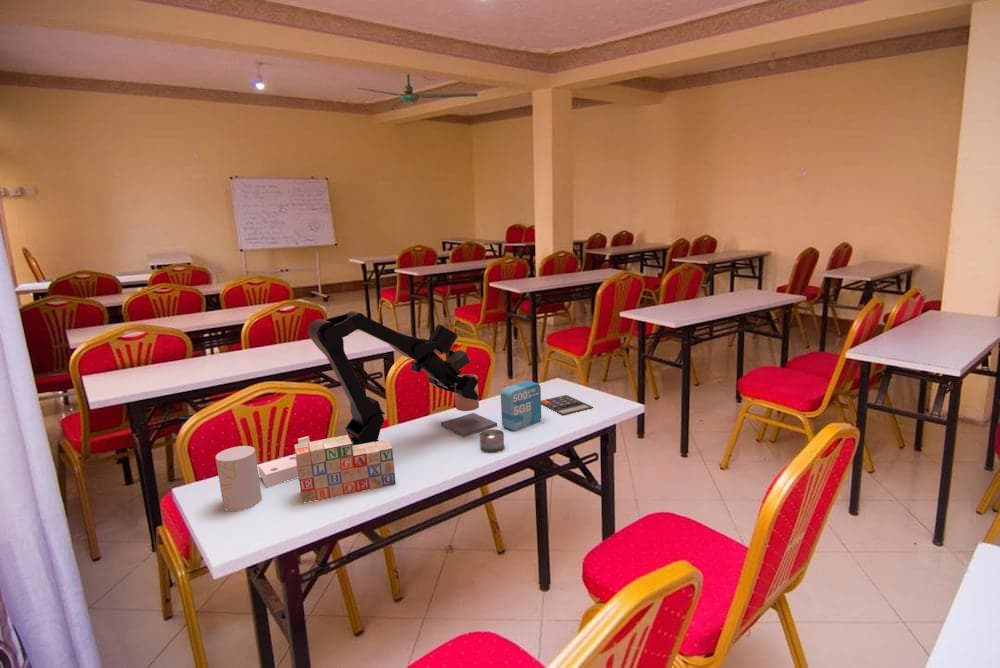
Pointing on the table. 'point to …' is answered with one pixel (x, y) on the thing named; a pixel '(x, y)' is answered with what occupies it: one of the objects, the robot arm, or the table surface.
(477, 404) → the terracotta canister
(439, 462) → the table surface
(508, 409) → the data package
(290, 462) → the bracket
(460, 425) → the charcoal mat
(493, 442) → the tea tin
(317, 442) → the stack of blocks
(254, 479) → the beige upright cylinder
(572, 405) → the calculator
